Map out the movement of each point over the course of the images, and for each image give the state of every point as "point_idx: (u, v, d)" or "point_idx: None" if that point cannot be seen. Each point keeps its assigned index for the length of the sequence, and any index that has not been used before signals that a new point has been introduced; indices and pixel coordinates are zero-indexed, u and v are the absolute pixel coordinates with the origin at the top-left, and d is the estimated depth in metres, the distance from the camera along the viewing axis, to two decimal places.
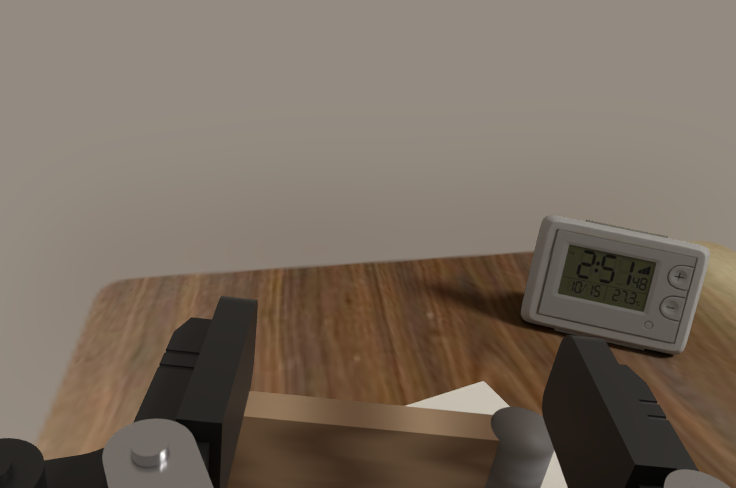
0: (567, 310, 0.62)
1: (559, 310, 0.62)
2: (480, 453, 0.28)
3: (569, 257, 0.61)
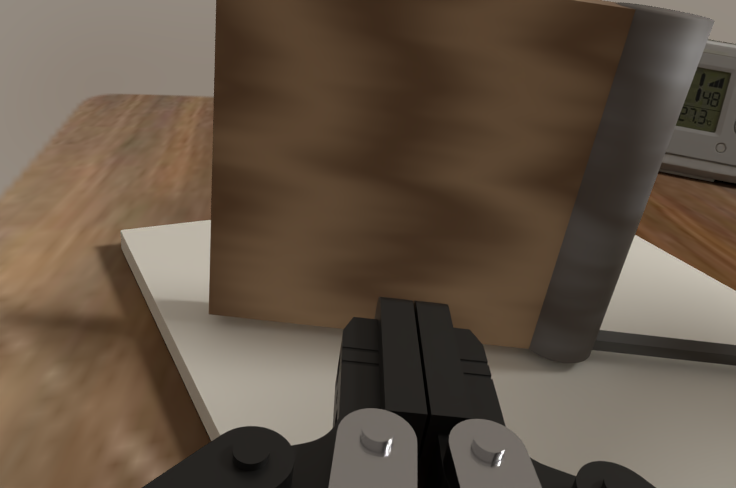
0: None
1: None
2: (605, 35, 0.20)
3: None
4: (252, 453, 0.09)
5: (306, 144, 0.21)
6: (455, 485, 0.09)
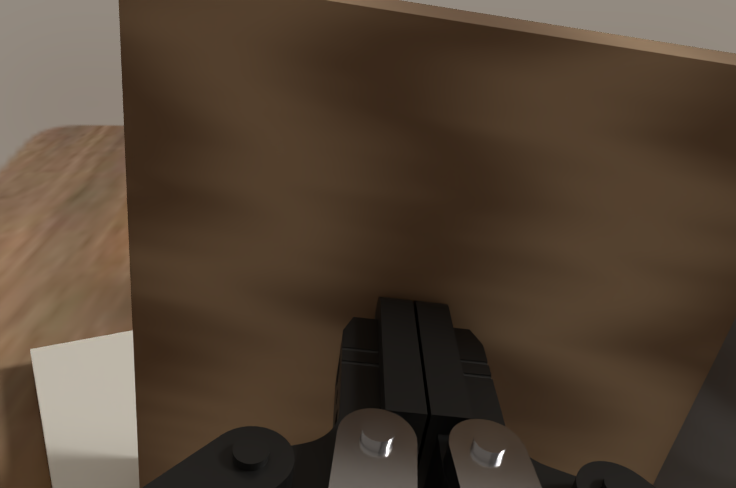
0: None
1: None
2: None
3: None
4: (252, 453, 0.09)
5: (273, 276, 0.14)
6: (455, 485, 0.09)
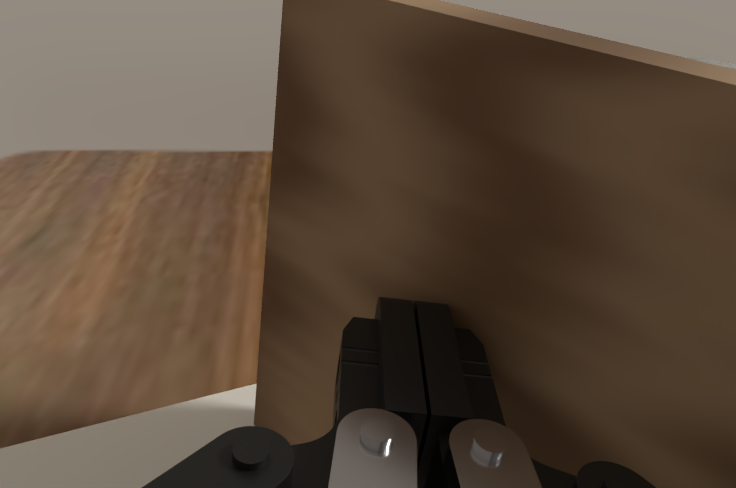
0: None
1: None
2: None
3: None
4: (252, 453, 0.09)
5: (361, 261, 0.15)
6: (455, 485, 0.09)
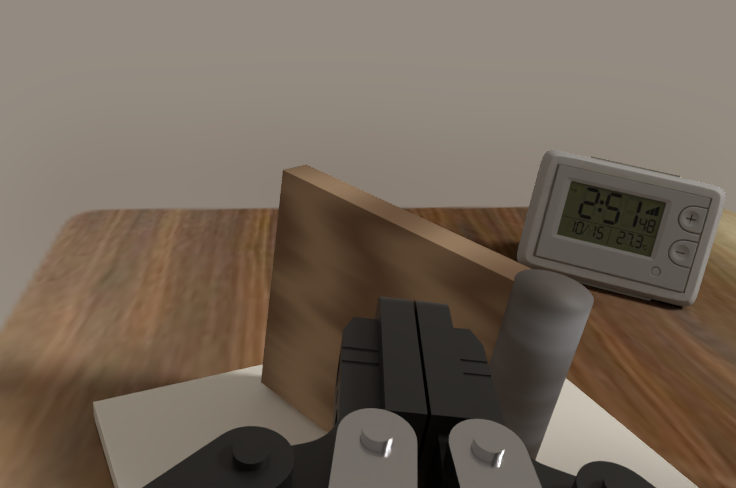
0: (567, 253, 0.57)
1: (558, 252, 0.57)
2: (493, 293, 0.25)
3: (570, 194, 0.56)
4: (252, 453, 0.09)
5: (315, 297, 0.32)
6: (455, 485, 0.09)
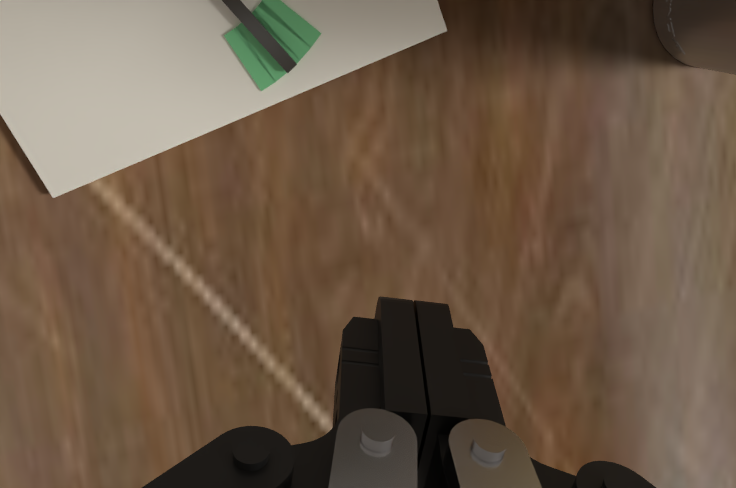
0: None
1: None
2: None
3: None
4: (252, 453, 0.09)
5: None
6: (455, 485, 0.09)
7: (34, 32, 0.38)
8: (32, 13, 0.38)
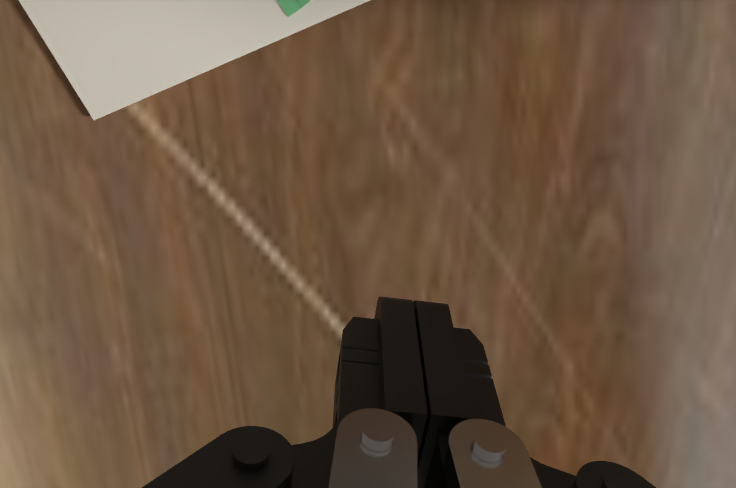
0: None
1: None
2: None
3: None
4: (252, 453, 0.09)
5: None
6: (455, 485, 0.09)
7: None
8: None
